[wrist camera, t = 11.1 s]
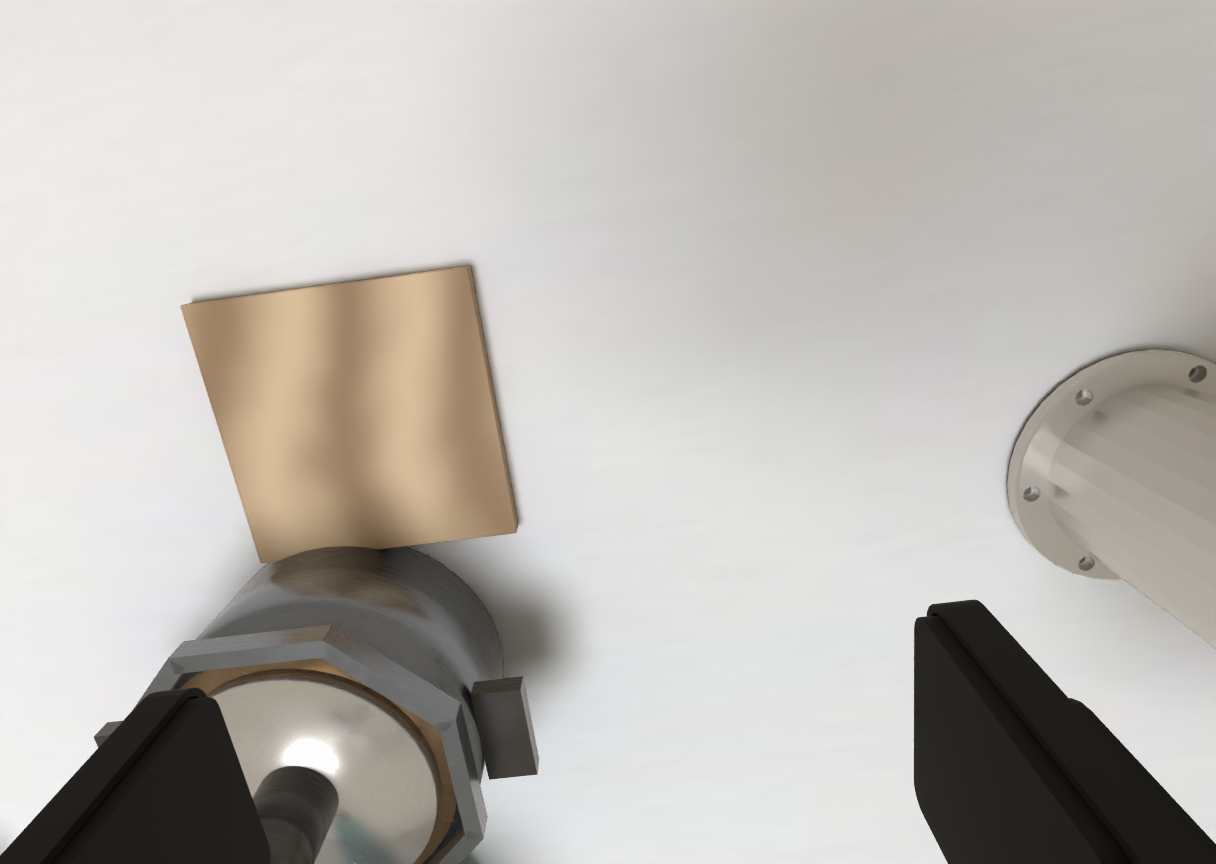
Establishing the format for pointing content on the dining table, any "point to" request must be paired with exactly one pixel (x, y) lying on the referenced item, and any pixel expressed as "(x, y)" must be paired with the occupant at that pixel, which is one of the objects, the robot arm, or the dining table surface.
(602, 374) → the dining table surface
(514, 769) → the stockpot
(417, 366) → the plate
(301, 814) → the lid
